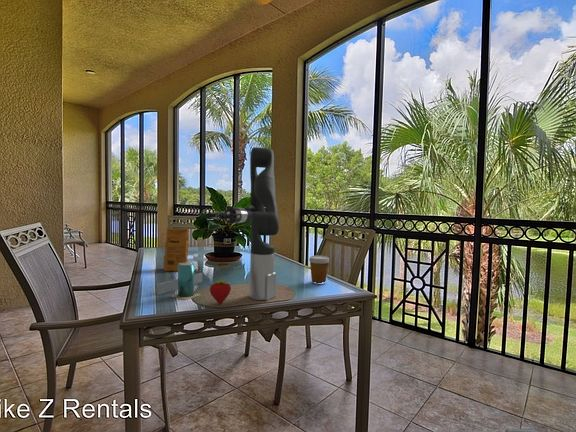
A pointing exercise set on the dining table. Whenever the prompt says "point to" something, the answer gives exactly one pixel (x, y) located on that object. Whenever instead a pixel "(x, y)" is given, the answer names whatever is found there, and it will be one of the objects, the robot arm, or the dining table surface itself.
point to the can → (185, 279)
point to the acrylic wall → (174, 284)
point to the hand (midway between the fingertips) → (212, 216)
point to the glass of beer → (319, 268)
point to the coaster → (185, 297)
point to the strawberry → (220, 290)
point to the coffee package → (175, 248)
